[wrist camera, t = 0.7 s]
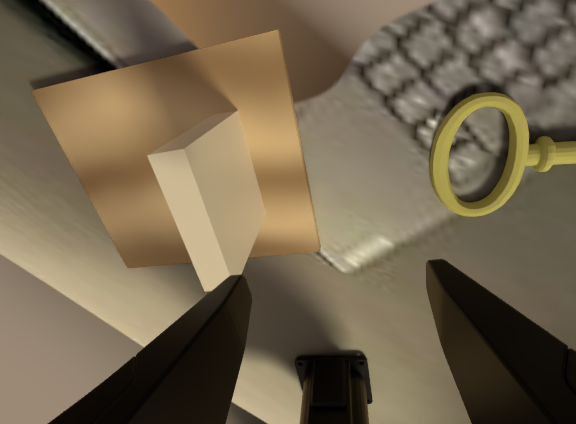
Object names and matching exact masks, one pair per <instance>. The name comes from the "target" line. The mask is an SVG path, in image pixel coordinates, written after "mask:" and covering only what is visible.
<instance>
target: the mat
mask: <svg viewBox="0 0 576 424" xmlns="http://www.w3.org/2000/svg"><path fill="white" fill-rule="evenodd" d="M31 92H32V94H33V96H34V97H35V99H36V101H37V103H38V105H39V107H40V108H41V110H42V112H43V114H44V116H45V118H46V119H47V121H48V123H49V125H50V127H51V129H52V130H53V132H54V134H55V136H56V138H57V140H58V141H59V143H60V145H61V147H62V149H63V151H64V152H65V154H66V156H67V158H68V160H69V162H70V163H71V165H72V167H73V169H74V171H75V173H76V175H77V176H78V178H79V180H80V182H81V184H82V186H83V187H84V189H85V191H86V193H87V195H88V197H89V198H90V200H91V202H92V204H93V206H94V208H95V209H96V211H97V213H98V215H99V217H100V219H101V220H102V222H103V224H104V226H105V228H106V230H107V231H108V233H109V235H110V237H111V239H112V241H113V242H114V244H115V246H116V248H117V250H118V252H119V253H120V255H121V257H122V259H123V261H124V263H125V264H126V266H127V268H136V267H147V266H159V265H170V264H182V263H192V261H191V258H190V256H189V253H188V251H187V249H186V246H185V244H184V242H183V239H182V237H181V235H180V232H179V230H178V227H177V225H176V223H175V220H174V218H173V216H172V213H171V211H170V209H169V206H168V204H167V201H166V199H165V197H164V194H163V192H162V190H161V187H160V185H159V183H158V180H157V178H156V175H155V173H154V171H153V168H152V166H151V164H150V161H149V159H148V157H147V155H148V154H150V153H151V152H153V151H155V150H156V149H158V148H160V147H161V146H163V145H165V144H166V143H168V142H170V141H171V140H173V139H174V138H176V137H178V136H179V135H181V134H183V133H184V132H186V131H188V130H189V129H191V128H193V127H194V126H196V125H198V124H199V123H201V122H203V121H204V120H206V119H207V118H209V117H211V116H212V115H216V114H221V113H226V112H231V111H236V110H238V111H239V115H240V119H241V122H242V126H243V130H244V134H245V137H246V141H247V145H248V148H249V152H250V156H251V160H252V163H253V167H254V171H255V175H256V178H257V182H258V186H259V190H260V193H261V197H262V201H263V205H264V208H265V212H266V215H265V218H264V220H263V222H262V225H261V227H260V230H259V232H258V235H257V237H256V240H255V242H254V245H253V247H252V249H251V252H250V254H249V257H248V258H250V257H262V256H273V255H284V254H296V253H307V252H319V251H320V247H321V246H320V241H319V236H318V230H317V225H316V220H315V214H314V209H313V204H312V198H311V193H310V188H309V182H308V177H307V172H306V166H305V161H304V156H303V151H302V145H301V140H300V135H299V129H298V124H297V119H296V113H295V108H294V103H293V97H292V92H291V87H290V82H289V76H288V71H287V66H286V60H285V55H284V49H283V44H282V39H281V34H280V30H274V31H270V32H266V33H262V34H258V35H254V36H250V37H246V38H242V39H238V40H234V41H229V42H225V43H221V44H217V45H213V46H210V47H205V48H201V49H197V50H193V51H189V52H185V53H181V54H177V55H173V56H169V57H165V58H161V59H157V60H153V61H149V62H145V63H141V64H137V65H133V66H129V67H125V68H121V69H116V70H112V71H108V72H104V73H100V74H96V75H92V76H88V77H84V78H80V79H76V80H72V81H68V82H64V83H60V84H56V85H52V86H48V87H44V88H40V89H36V90H32V91H31Z"/></svg>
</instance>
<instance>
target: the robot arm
mask: <svg viewBox="0 0 576 424" xmlns="http://www.w3.org/2000/svg"><path fill="white" fill-rule="evenodd" d="M426 288H427V293H428V297H429V301H430V305H431V309H432V312H433V316H434V320H435V324H436V328H437V332H438V336H439V339H440V343H441V346H442V349H443V351H444V354H445V357H446V359H447V362H448V364H449V367H450V370H451V372H452V375H453V377H454V380H455V382H456V385H457V387H458V390H459V392H460V395H461V397H462V400H463V402H464V405H465V407H466V410H467V413H468V415H469V418H470V420H471V423H472V424H576V351H575V350H573V349H568V346H567V345H566V344H564V343H563V342H561V341H560V340H559V339H557V338H556V337H554V336H553V335H551V334H550V333H549V332H547V331H546V330H544V329H543V328H541V327H540V326H539V325H537V324H536V323H534V322H533V321H531V320H530V319H529V318H527V317H526V316H524V315H523V314H521V313H520V312H519V311H517V310H516V309H514V308H513V307H511V306H510V305H509V304H507V303H506V302H504V301H503V300H501V299H500V298H498V297H497V296H496V295H494V294H493V293H491V292H490V291H488V290H487V289H486V288H484V287H483V286H481V285H480V284H478V283H477V282H476V281H474V280H473V279H471V278H470V277H468V276H467V275H466V274H464V273H463V272H461V271H460V270H458V269H457V268H456V267H454V266H453V265H451V264H450V263H448V262H447V261H445V260H443V259H435V260H428V261H427V262H426ZM251 304H252V297H251V293H250V290H249V287H248V284H247V281H246V278H245V276H244V275H242V274H239V275H230V276H229V277H228V278H226V279H225V280H224V281H223V282H222V283H220V284H219V285H218V286H217V287H216V288H214V289H213V290H212V291H211V292H210V293H209V294H207V295H206V296H205V297H204V298H203V299H201V300H200V301H199V302H198V303H197V304H196V305H194V306H193V307H192V308H191V309H190V310H188V311H187V312H186V313H185V314H184V315H182V316H181V317H180V318H179V319H178V320H177V321H175V322H174V323H173V324H172V325H171V326H169V327H168V328H167V329H166V330H165V331H163V332H162V333H161V334H160V335H159V336H158V337H156V338H155V339H154V340H153V341H152V342H150V343H149V344H148V345H147V346H146V347H144V348H143V349H142V350H141V351H140V352H139V353H137V355H136V357H135V356H134V357H132V358H131V359H130V360H129V361H128V362H127V363H125V364H124V365H123V366H122V367H121V368H120V369H118V370H117V371H116V372H115V373H113V374H112V375H111V376H110V377H109V378H107V379H106V380H105V381H104V382H102V383H101V384H100V385H98V386H97V387H96V388H94V389H93V390H92V391H91V392H89V393H88V394H87V395H85V396H84V397H83V398H81V399H80V400H79V401H78V402H76V403H75V404H73V405H72V406H71V407H69V408H68V409H67V410H65V411H64V412H63V413H61V414H60V415H59V416H57V417H56V418H55V419H53V420H52V421H51V422H49V423H48V424H225V423H226V419H227V416H228V411H229V408H230V404H231V400H232V397H233V393H234V389H235V385H236V381H237V378H238V374H239V370H240V366H241V362H242V358H243V354H244V350H245V344H246V338H247V331H248V324H249V317H250V310H251ZM295 366H296V369H297V373H298V376H299V380H300V383H301V386H302V390H303V396H302V406H301V416H300V424H369V418H368V406H367V404H371V403H372V393H371V385H370V378H369V370H368V363H367V358H366V357H365V356H301V357H297V358H296V359H295Z"/></svg>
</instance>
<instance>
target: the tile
mask: <svg viewBox="0 0 576 424" xmlns="http://www.w3.org/2000/svg"><path fill="white" fill-rule="evenodd" d="M147 157H148V159H149V161H150V164H151V166H152V168H153V171H154V173H155V175H156V178H157V180H158V183H159V185H160V187H161V190H162V192H163V194H164V197H165V199H166V201H167V204H168V206H169V209H170V211H171V213H172V216H173V218H174V220H175V223H176V225H177V227H178V230H179V232H180V235H181V237H182V239H183V242H184V244H185V246H186V249H187V251H188V253H189V256H190V258H191V261H192V263H193V265H194V268H195V270H196V272H197V275H198V277H199V279H200V282H201V284H202V287H203V289H204V291H212V290H213V289H214V288H216V287H217V286H218V285H219V284H220V283H222V282H223V281H224V280H225V279H226V278H228V277H229V276H230V275H239V274H242V271H243V269H244V267H245V264H246V262H247V259H248V257H249V254H250V252H251V249H252V247H253V245H254V242H255V240H256V237H257V235H258V232H259V230H260V227H261V225H262V222H263V220H264V218H265V215H266V212H265V208H264V205H263V201H262V197H261V193H260V190H259V186H258V182H257V178H256V175H255V171H254V167H253V163H252V160H251V156H250V152H249V148H248V145H247V141H246V137H245V134H244V130H243V126H242V122H241V119H240V115H239V111H238V110H236V111H231V112H226V113H221V114H216V115H212V116H211V117H209V118H207V119H206V120H204V121H203V122H201V123H199V124H198V125H196V126H194V127H193V128H191V129H189V130H188V131H186V132H184V133H183V134H181V135H179V136H178V137H176V138H174V139H173V140H171V141H170V142H168V143H166V144H165V145H163V146H161V147H160V148H158V149H156V150H155V151H153V152H151V153H150V154H148V155H147Z"/></svg>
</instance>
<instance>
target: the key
mask: <svg viewBox="0 0 576 424" xmlns="http://www.w3.org/2000/svg"><path fill="white" fill-rule="evenodd" d="M485 106H490V107H495V108H497V109H499V110H500V111H501V112H502V113H503V114H504V116H505V118H506V120H507V123H508V128H509V150H508V157H507V161H506V165H505V168H504V171H503V174H502V176H501V178H500V180H499V182H498V184H497V185H496V186H495V188H494V189H493V190H492V192H491V193H490V194H489V195H488V196H487V197H485V198H483V199H481V200H479V201H476V202H470V203H468V202H463V201H461V200H459V199H458V198H457V196H456V195H455V193H454V191H453V189H452V186H451V184H450V180H449V174H448V158H449V151H450V147H451V144H452V141H453V138H454V135H455V133H456V131H457V130H458V128H459V126H460V125H461V123H462V122H463V120H464V119H465V118H466V117H467V116H468V115H469V114H470V113H472V112H473V111H475V110H477V109H479V108H481V107H485ZM571 163H576V141H568V142H553V140H552V139H551V138H550V137H546V136H542V137H539V138H538V139H537V140H536V141H535V143H534V144H529V130H528V124H527V120H526V118H525V116H524V114H523V112H522V110H521V108H520V106H519V105H518V104H517V103H516V102H515V101H514V100H513V99H512V98H510V97H508V96H506V95H505V94H501V93H496V92H484V93H479V94H473V95H471V96H469V97H467V98H465V99H464V100H462V101H461V102H459V103H458V104H457V105H455V106H454V107H453V108H452V110H451V111H450V112H449V113H448V114H447V115H446V117H445V118H444V120H443V121H442V123H441V125H440V126H439V128H438V130H437V132H436V135H435V138H434V141H433V145H432V150H431V157H430V177H431V183H432V187H433V189H434V191H435V193H436V195H437V197H438V198H439V200H440V201H441V202H442V203H443V204H444V205H445V206H446V207H447V208H449V209H450V210H452V211H453V212H455V213H457V214H459V215H462V216H471V217H472V216H482V215H485V214H489V213H491V212H493V211H495V210H496V209H498V208H499V207H501V206H502V205H503V204H504V203H505V202H506V201H507V200H508V199H509V198H510V197H511V195H512V194H513V193H514V191H515V189H516V188H517V186H518V184H519V182H520V180H521V177H522V174H523V172H524V168H525V166H533V168H534V169H535V170H536V171H538V172H545V171H547V170H549V169H550V168H551V166H552V165H553V164H571Z"/></svg>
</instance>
